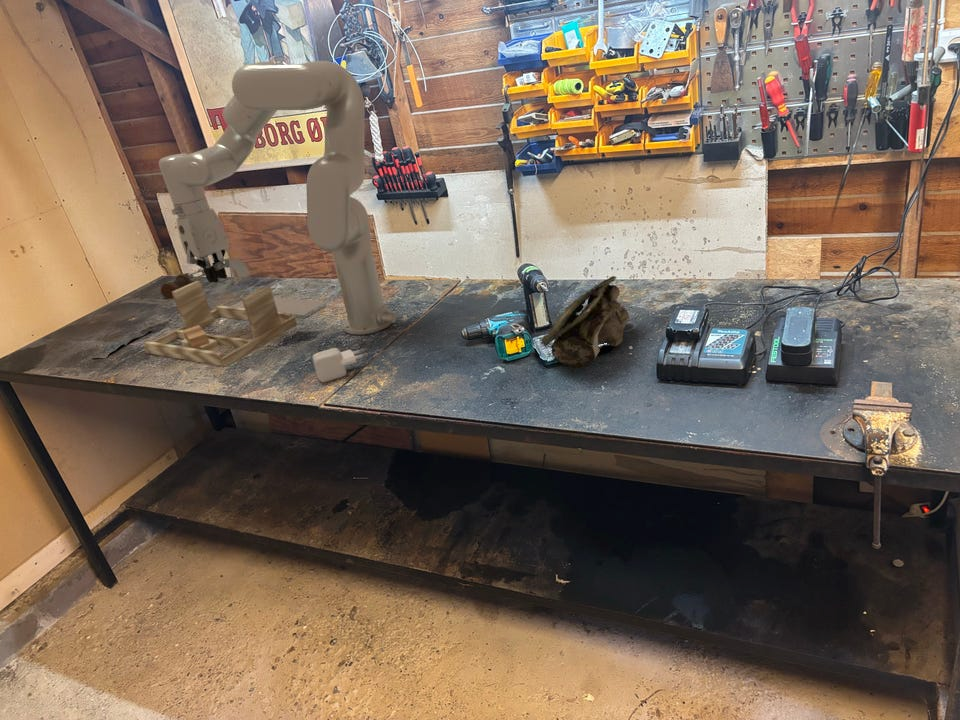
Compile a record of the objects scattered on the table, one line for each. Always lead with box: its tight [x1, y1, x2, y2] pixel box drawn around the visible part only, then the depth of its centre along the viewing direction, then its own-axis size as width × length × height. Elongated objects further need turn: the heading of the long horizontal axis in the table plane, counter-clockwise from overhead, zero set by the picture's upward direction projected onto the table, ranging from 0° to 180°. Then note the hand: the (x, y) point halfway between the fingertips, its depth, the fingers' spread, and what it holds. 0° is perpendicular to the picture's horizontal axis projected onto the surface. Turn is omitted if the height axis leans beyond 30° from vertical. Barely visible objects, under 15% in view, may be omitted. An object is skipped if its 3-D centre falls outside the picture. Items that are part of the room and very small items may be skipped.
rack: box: [143, 280, 298, 367], centre depth 162 cm, size 30×24×12 cm
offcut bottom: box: [180, 338, 221, 352], centre depth 159 cm, size 10×4×3 cm, turn 53°
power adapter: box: [312, 347, 369, 383], centre depth 136 cm, size 11×5×6 cm, turn 114°
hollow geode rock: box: [540, 275, 630, 370], centre depth 129 cm, size 28×13×15 cm
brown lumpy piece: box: [160, 272, 194, 300], centre depth 207 cm, size 6×5×15 cm
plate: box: [230, 296, 327, 319], centre depth 180 cm, size 29×9×1 cm, turn 61°
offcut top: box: [183, 325, 210, 348], centre depth 158 cm, size 8×4×2 cm, turn 34°
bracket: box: [188, 257, 251, 286], centre depth 161 cm, size 3×21×10 cm, turn 58°
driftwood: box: [92, 322, 157, 360], centre depth 172 cm, size 21×7×2 cm, turn 160°
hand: (217, 279), depth 161 cm, fingers closed on bracket, 2 cm apart
